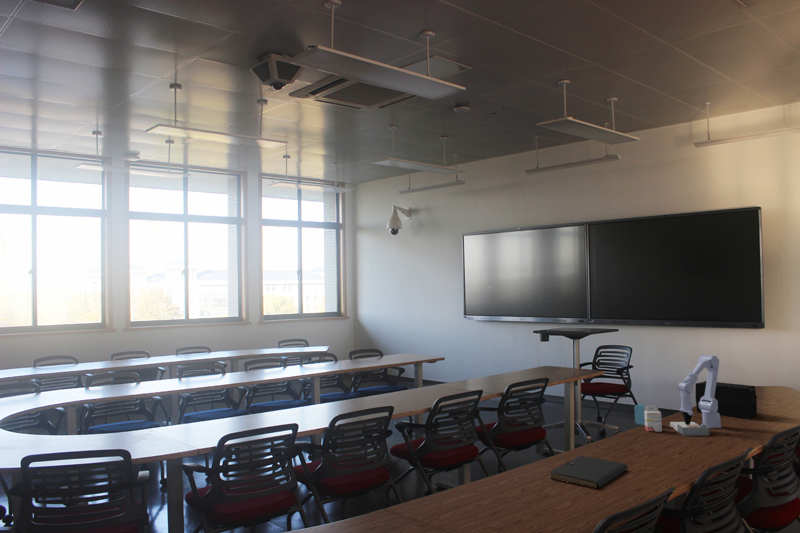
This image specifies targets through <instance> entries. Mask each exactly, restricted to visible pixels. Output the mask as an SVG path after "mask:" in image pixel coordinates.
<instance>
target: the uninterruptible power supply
mask: <svg viewBox="0 0 800 533" xmlns="http://www.w3.org/2000/svg"><path fill="white" fill-rule="evenodd" d="M706 382H707V380H703V381H701V382H695V406H696V410H697V411H696V412H697V413H700V414H702V411H701V410H700V409H699V402H700V400H701V397H703V396H704V395H705V389H706ZM756 393H757V392H756V386H755V385H747V384H740V383H739V384H737V383H727V382H719V381H717V383H716V389H715V396H714V398H715V399H716V400H717V401H718V410H717V412H718V413H719V414H720V417H726V418H733V417H734V419H740V420H747V419H748V420H750V419H752V418H756V417H758V411H757V410H758V408H757V407H758V406H757V404H758V403H757V402H758V401H757V398H758V395H757V394H756ZM709 402H711V401H709Z"/></svg>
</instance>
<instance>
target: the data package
mask: <svg viewBox="0 0 800 533" xmlns="http://www.w3.org/2000/svg"><path fill="white" fill-rule="evenodd" d="M645 406H649V405H646V404H636V405H634V407H633V408H634V421H635V424H637V425H641V426H645V415H644V411H645ZM649 409H654V408H652V407H651V408H649Z"/></svg>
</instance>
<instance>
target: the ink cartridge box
mask: <svg viewBox="0 0 800 533" xmlns="http://www.w3.org/2000/svg"><path fill="white" fill-rule="evenodd" d="M651 407H652V408H654V409H649V408H651ZM644 415H645V425H644V430H645V431H647V432H648V431H652V433H655V432H661V433H662V432H663V431H662V429H663V427H662V412H661V411H660V410H659V406H658V405H648V406H645V411H644ZM653 431H655V432H653Z"/></svg>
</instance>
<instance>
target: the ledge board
mask: <svg viewBox="0 0 800 533" xmlns="http://www.w3.org/2000/svg"><path fill="white" fill-rule="evenodd" d="M677 424H679V425H680V426H682V427H683V428H687V425H686V424H685V421H670V422H669V426H670V427H671V428H672V427H673V428H672V429H674V430H675V431H677V432H678V428H677ZM690 425H697V426H698V427H699V428H703V426H701V425H699V424H698V423H697V422H694V421H690Z"/></svg>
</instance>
